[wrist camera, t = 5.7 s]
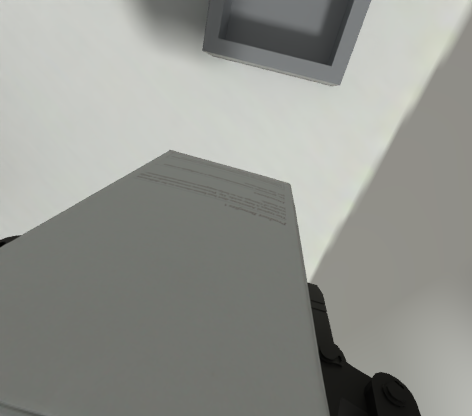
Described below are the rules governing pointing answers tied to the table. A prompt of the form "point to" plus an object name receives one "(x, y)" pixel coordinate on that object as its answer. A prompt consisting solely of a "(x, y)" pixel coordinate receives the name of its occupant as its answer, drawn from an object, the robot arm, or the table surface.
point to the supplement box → (162, 301)
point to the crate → (287, 35)
